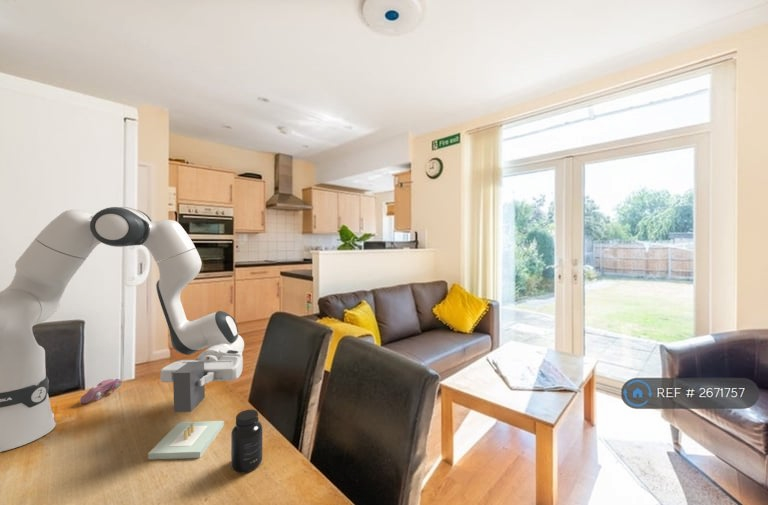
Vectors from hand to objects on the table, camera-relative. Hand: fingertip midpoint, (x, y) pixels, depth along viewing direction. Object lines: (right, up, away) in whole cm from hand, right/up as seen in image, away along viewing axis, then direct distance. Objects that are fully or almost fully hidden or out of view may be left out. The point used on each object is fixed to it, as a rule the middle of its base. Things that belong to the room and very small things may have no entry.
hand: (187, 383), depth 80 cm
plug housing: (0, -6, +1) cm, 6 cm away
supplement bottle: (+18, -17, -6) cm, 25 cm away
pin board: (0, -16, +1) cm, 16 cm away
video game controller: (-43, -14, +23) cm, 50 cm away
